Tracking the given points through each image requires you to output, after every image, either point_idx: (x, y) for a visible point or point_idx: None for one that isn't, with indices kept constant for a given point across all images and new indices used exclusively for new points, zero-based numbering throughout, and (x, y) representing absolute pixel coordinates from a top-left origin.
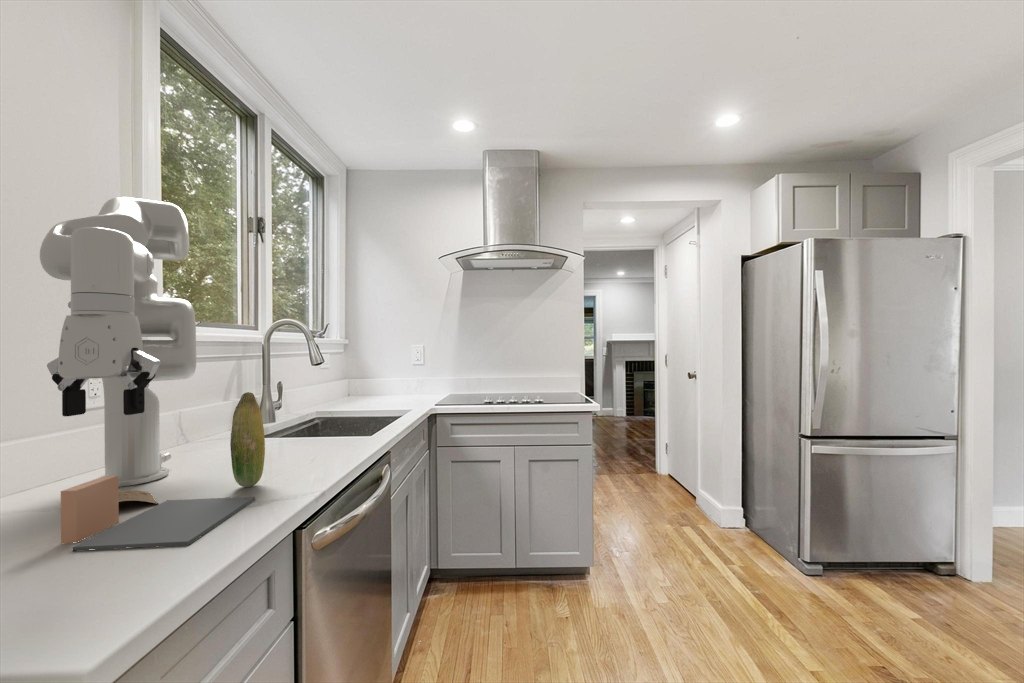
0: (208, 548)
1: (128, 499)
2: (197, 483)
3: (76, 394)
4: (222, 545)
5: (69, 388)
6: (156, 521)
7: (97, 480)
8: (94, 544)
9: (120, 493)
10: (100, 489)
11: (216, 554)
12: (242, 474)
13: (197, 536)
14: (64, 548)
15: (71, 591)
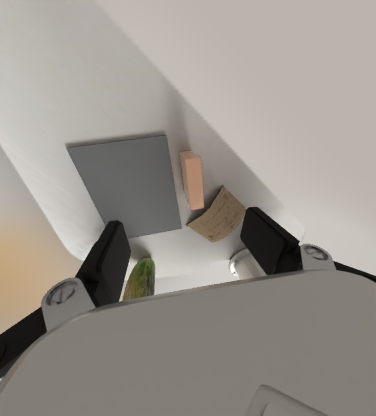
0: (39, 141)
1: (203, 219)
2: (194, 260)
3: (269, 253)
4: (32, 148)
5: (293, 258)
6: (146, 189)
7: (197, 194)
8: (151, 141)
9: (219, 228)
10: (187, 186)
11: (13, 127)
12: (140, 263)
13: (74, 162)
14: (179, 141)
15: (70, 39)
